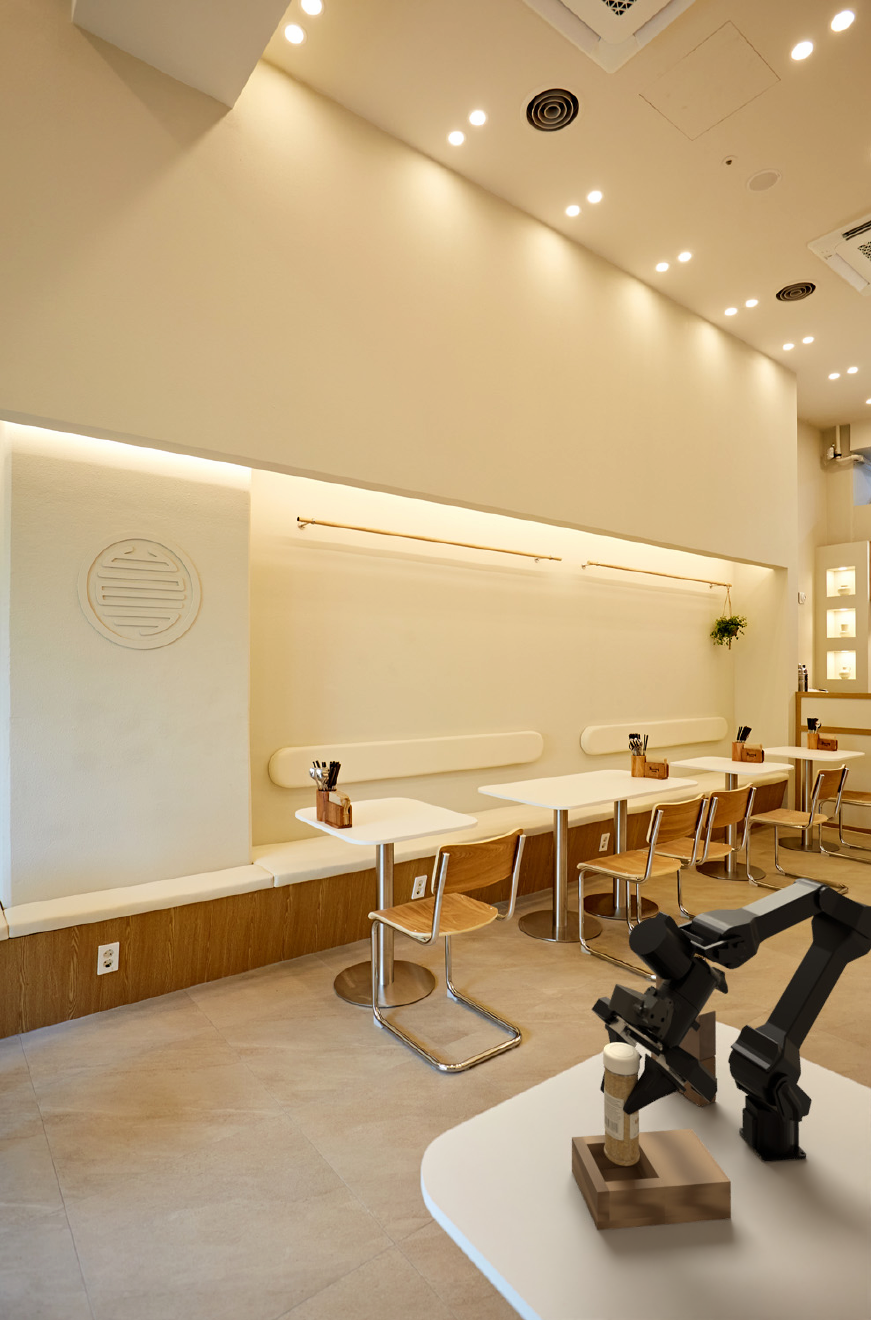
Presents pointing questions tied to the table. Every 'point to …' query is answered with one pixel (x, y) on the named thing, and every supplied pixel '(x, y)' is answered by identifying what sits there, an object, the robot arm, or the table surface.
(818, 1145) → the table surface
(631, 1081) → the sprinkles bottle
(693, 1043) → the wooden block
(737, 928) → the robot arm
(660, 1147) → the wooden bottle holder
